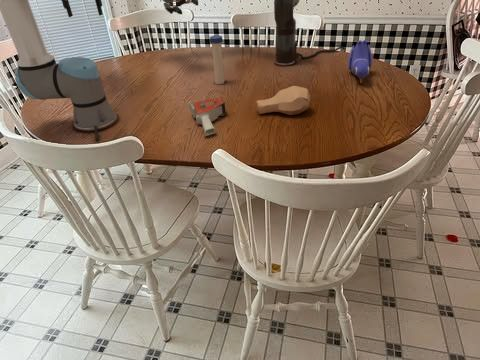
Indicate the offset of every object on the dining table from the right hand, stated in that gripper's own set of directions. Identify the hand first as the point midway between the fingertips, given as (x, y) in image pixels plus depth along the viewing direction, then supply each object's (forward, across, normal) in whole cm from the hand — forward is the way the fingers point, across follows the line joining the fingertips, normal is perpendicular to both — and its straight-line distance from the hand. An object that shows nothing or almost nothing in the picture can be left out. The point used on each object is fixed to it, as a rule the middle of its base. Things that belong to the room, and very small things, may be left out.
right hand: (189, 7), depth 153 cm
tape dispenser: (+50, +29, -11) cm, 59 cm away
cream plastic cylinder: (+23, +6, -24) cm, 34 cm away
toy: (+62, -41, -28) cm, 80 cm away
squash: (+64, +4, -15) cm, 65 cm away
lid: (+18, 0, -6) cm, 19 cm away
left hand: (-30, +36, +2) cm, 47 cm away
